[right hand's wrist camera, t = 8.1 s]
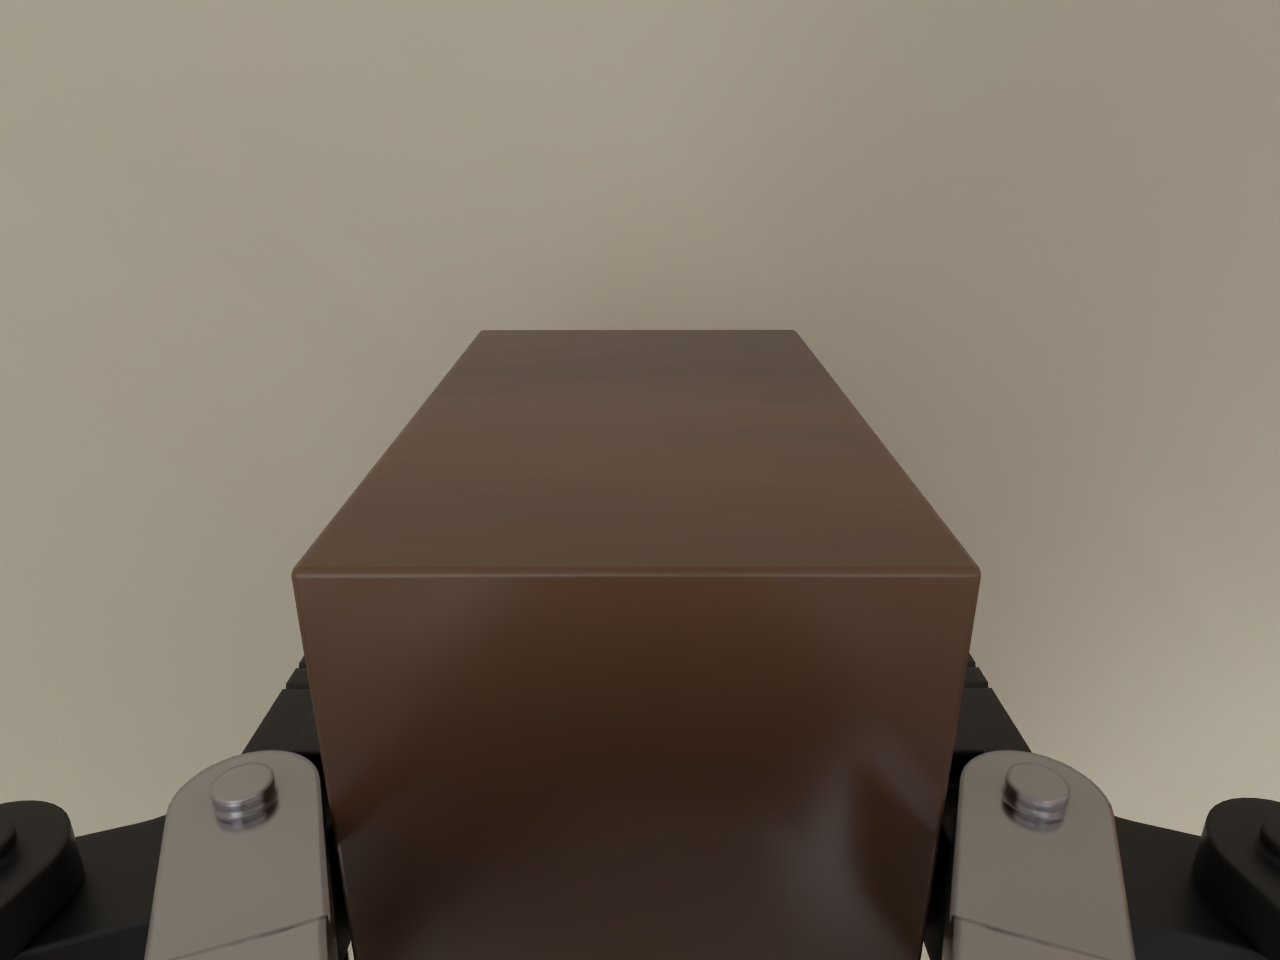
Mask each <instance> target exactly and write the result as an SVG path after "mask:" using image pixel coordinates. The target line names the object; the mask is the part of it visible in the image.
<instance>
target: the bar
mask: <svg viewBox="0 0 1280 960" xmlns="http://www.w3.org/2000/svg"><path fill="white" fill-rule="evenodd" d="M980 578H981V572H980V569H979V567H978V566H977V564H976V563H975V562H974V561H973V559H972V558H971V557H970V555H969V554H968V553H967V552H966V550H965V549H964V548H963V546H962V545H961V544H960V543H959V541H958V540H957V539H956V537H955V536H954V535H953V533H952V532H951V531H950V530H949V528H948V527H947V526H946V524H945V523H944V522H943V521H942V519H941V518H940V517H939V515H938V514H937V513H936V512H935V510H934V509H933V508H932V506H931V505H930V504H929V502H928V501H927V500H926V499H925V497H924V496H923V495H922V493H921V492H920V491H919V490H918V488H917V487H916V486H915V484H914V483H913V482H912V481H911V479H910V478H909V477H908V475H907V474H906V473H905V471H904V470H903V469H902V468H901V466H900V465H899V464H898V462H897V461H896V460H895V459H894V457H893V456H892V455H891V453H890V452H889V451H888V450H887V448H886V447H885V446H884V444H883V443H882V442H881V440H880V439H879V438H878V437H877V435H876V434H875V433H874V431H873V430H872V429H871V428H870V426H869V425H868V424H867V422H866V421H865V420H864V419H863V417H862V416H861V415H860V413H859V412H858V411H857V409H856V408H855V407H854V406H853V404H852V403H851V402H850V400H849V399H848V398H847V397H846V395H845V394H844V393H843V391H842V390H841V389H840V388H839V386H838V385H837V384H836V382H835V381H834V380H833V378H832V377H831V376H830V375H829V373H828V372H827V371H826V369H825V368H824V367H823V366H822V364H821V363H820V362H819V360H818V359H817V358H816V357H815V355H814V354H813V353H812V351H811V350H810V349H809V347H808V346H807V345H806V344H805V342H804V341H803V340H802V338H801V337H800V336H799V335H798V333H797V332H796V331H794V330H483V331H481V332H480V333H479V334H478V335H477V337H476V338H475V339H474V340H473V342H472V343H471V344H470V346H469V347H468V348H467V349H466V351H465V352H464V353H463V354H462V356H461V357H460V358H459V359H458V361H457V362H456V363H455V365H454V366H453V367H452V368H451V370H450V371H449V372H448V373H447V375H446V376H445V377H444V378H443V380H442V381H441V382H440V384H439V385H438V386H437V387H436V389H435V390H434V391H433V392H432V394H431V395H430V396H429V397H428V399H427V400H426V401H425V403H424V404H423V405H422V406H421V408H420V409H419V410H418V411H417V413H416V414H415V415H414V416H413V418H412V419H411V420H410V422H409V423H408V424H407V425H406V427H405V428H404V429H403V430H402V432H401V433H400V434H399V435H398V437H397V438H396V439H395V441H394V442H393V443H392V444H391V446H390V447H389V448H388V449H387V451H386V452H385V453H384V454H383V456H382V457H381V458H380V460H379V461H378V462H377V463H376V465H375V466H374V467H373V468H372V470H371V471H370V472H369V473H368V475H367V476H366V477H365V479H364V480H363V481H362V482H361V484H360V485H359V486H358V487H357V489H356V490H355V491H354V492H353V494H352V495H351V496H350V498H349V499H348V500H347V501H346V503H345V504H344V505H343V506H342V508H341V509H340V510H339V511H338V513H337V514H336V515H335V517H334V518H333V519H332V520H331V522H330V523H329V524H328V525H327V527H326V528H325V529H324V530H323V532H322V533H321V534H320V536H319V537H318V538H317V539H316V541H315V542H314V543H313V544H312V546H311V547H310V548H309V549H308V551H307V552H306V553H305V555H304V556H303V557H302V558H301V560H300V561H299V562H298V563H297V565H296V566H295V567H294V568H293V571H292V582H293V588H294V594H295V600H296V606H297V612H298V619H299V625H300V631H301V637H302V643H303V649H304V655H305V661H306V667H307V674H308V680H309V686H310V692H311V698H312V704H313V710H314V716H315V722H316V729H317V735H318V741H319V747H320V753H321V759H322V765H323V771H324V777H325V784H326V790H327V796H328V802H329V808H330V814H331V820H332V826H333V832H334V839H335V845H336V851H337V857H338V863H339V869H340V875H341V881H342V887H343V894H344V900H345V906H346V912H347V918H348V924H349V930H350V936H351V942H352V949H353V955H354V960H920V959H921V953H922V946H923V940H924V934H925V927H926V921H927V915H928V908H929V902H930V896H931V889H932V883H933V877H934V870H935V864H936V858H937V851H938V845H939V838H940V832H941V826H942V819H943V813H944V807H945V800H946V794H947V788H948V781H949V775H950V769H951V762H952V756H953V750H954V743H955V737H956V731H957V724H958V718H959V712H960V705H961V699H962V693H963V686H964V680H965V674H966V667H967V661H968V655H969V648H970V642H971V636H972V629H973V623H974V616H975V610H976V604H977V597H978V591H979V585H980Z"/></svg>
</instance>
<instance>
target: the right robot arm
mask: <svg viewBox="0 0 1280 960" xmlns="http://www.w3.org/2000/svg"><path fill="white" fill-rule="evenodd" d="M350 941H351V936H350V930H349V924H348V918H347V912H346V906H345V900H344V894H343V887H342V881H341V875H340V869H339V863H338V857H337V851H336V845H335V839H334V832H333V826H332V820H331V814H330V808H329V802H328V796H327V790H326V784H325V777H324V771H323V765H322V759H321V753H320V747H319V741H318V735H317V729H316V722H315V716H314V710H313V704H312V698H311V692H310V686H309V680H308V674H307V667H306V661H305V655H304V657H303V658H302V660H301V661H300V663H299V668H296V669H295V671H294V672H293V674H292V676H291V677H290V679H289V680H288V682H287V683H286V689H283V690H282V691H281V693H280V694H279V696H278V697H277V699H276V701H275V702H274V704H273V705H272V707H271V708H270V710H269V712H268V713H267V715H266V716H265V718H264V719H263V721H262V723H261V724H260V726H259V727H258V729H257V730H256V732H255V734H254V735H253V737H252V738H251V740H250V741H249V743H248V745H247V746H246V748H245V749H244V751H243V752H242V754H241V755H237V756H234V757H231V758H228V759H226V760H223V761H221V762H218V763H216V764H214V765H212V766H210V767H208V768H207V769H205V770H203V771H202V772H200V773H198V774H197V775H196V776H194V777H193V778H192V779H190V780H189V781H188V782H187V783H186V784H185V785H184V786H183V787H181V788H180V790H179V791H178V792H177V793H176V795H175V796H174V797H173V799H172V801H171V803H170V804H169V806H168V810H167V813H166V815H164V816H161V817H158V818H156V819H153V820H149V821H145V822H141V823H137V824H133V825H128V826H124V827H119V828H115V829H111V830H106V831H102V832H97V833H93V834H88V835H84V836H79V837H75V836H74V832H73V829H72V826H71V822H70V820H69V817H68V815H67V813H66V812H65V811H64V810H63V809H62V808H60V807H58V806H56V805H54V804H51V803H48V802H43V801H16V802H8V803H3V804H0V960H350V959H349V953H348V947H349V944H350ZM923 941H924V944H925V947H926V949H927V952H928V955H929V958H930V960H1280V802H1277V801H1272V800H1266V799H1259V798H1236V799H1230V800H1226V801H1223V802H1221V803H1219V804H1217V805H1215V806H1214V807H1213V808H1212V809H1211V810H1210V812H1209V814H1208V816H1207V819H1206V822H1205V825H1204V829H1203V832H1202V835H1201V836H1197V835H1192V834H1188V833H1183V832H1179V831H1174V830H1170V829H1165V828H1161V827H1156V826H1152V825H1147V824H1143V823H1138V822H1134V821H1130V820H1126V819H1123V818H1119V817H1116V816H1114V813H1113V810H1112V806H1111V804H1110V803H1109V801H1108V799H1107V797H1106V796H1105V795H1104V793H1103V792H1102V791H1101V790H1100V788H1098V787H1097V786H1096V785H1095V784H1094V783H1093V782H1092V781H1091V780H1090V779H1088V778H1087V777H1086V776H1084V775H1083V774H1082V773H1080V772H1078V771H1077V770H1075V769H1073V768H1072V767H1070V766H1068V765H1066V764H1064V763H1062V762H1059V761H1057V760H1054V759H1052V758H1049V757H1046V756H1043V755H1039V754H1035V753H1032V752H1031V750H1030V749H1029V747H1028V746H1027V744H1026V742H1025V741H1024V739H1023V738H1022V736H1021V734H1020V733H1019V731H1018V730H1017V728H1016V726H1015V725H1014V723H1013V722H1012V720H1011V719H1010V717H1009V715H1008V714H1007V712H1006V711H1005V709H1004V707H1003V706H1002V704H1001V703H1000V701H999V699H998V698H997V696H996V695H995V693H994V691H993V690H992V688H988V682H987V680H986V679H985V677H984V676H983V674H982V672H981V671H980V669H979V668H978V667H975V661H974V660H973V658H972V656H971V655H970V653H969V655H968V661H967V667H966V674H965V680H964V686H963V693H962V699H961V705H960V712H959V718H958V724H957V731H956V737H955V743H954V750H953V756H952V762H951V769H950V775H949V781H948V788H947V794H946V800H945V807H944V813H943V819H942V826H941V832H940V838H939V845H938V851H937V858H936V864H935V870H934V877H933V883H932V889H931V896H930V902H929V908H928V915H927V921H926V927H925V934H924V940H923Z"/></svg>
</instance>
